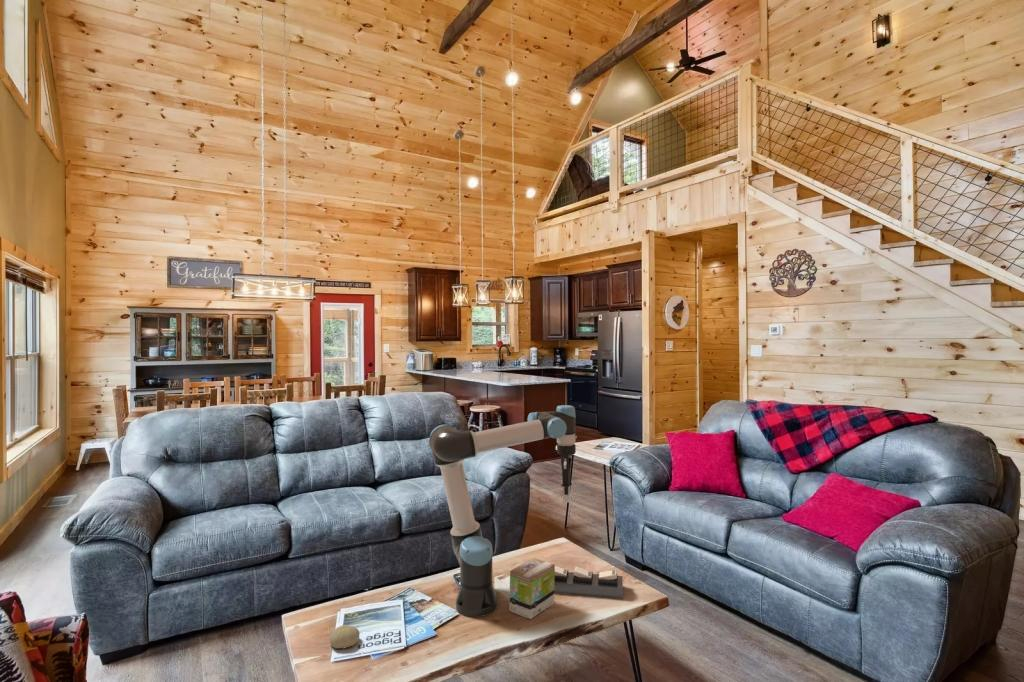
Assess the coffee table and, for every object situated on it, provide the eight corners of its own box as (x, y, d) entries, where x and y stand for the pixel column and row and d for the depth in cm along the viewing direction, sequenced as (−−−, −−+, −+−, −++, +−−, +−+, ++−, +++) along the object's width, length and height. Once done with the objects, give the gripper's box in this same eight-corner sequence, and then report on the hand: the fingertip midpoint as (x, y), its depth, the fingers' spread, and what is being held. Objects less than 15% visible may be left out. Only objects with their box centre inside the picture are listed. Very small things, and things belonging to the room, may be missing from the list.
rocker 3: (599, 581, 206) (598, 577, 206) (600, 576, 210) (599, 572, 210) (616, 578, 205) (615, 574, 205) (616, 573, 209) (615, 569, 209)
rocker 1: (549, 573, 210) (550, 569, 209) (550, 568, 214) (551, 564, 214) (565, 579, 208) (566, 574, 208) (566, 573, 213) (567, 569, 213)
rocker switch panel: (542, 592, 207) (542, 577, 207) (546, 580, 217) (546, 566, 217) (622, 598, 202) (622, 583, 201) (622, 586, 211) (622, 572, 211)
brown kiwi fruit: (346, 625, 182) (356, 613, 178) (356, 647, 178) (367, 636, 174) (322, 637, 174) (331, 625, 171) (332, 661, 171) (342, 649, 167)
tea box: (531, 620, 187) (531, 577, 187) (508, 611, 193) (508, 570, 193) (555, 603, 199) (555, 563, 199) (533, 595, 205) (532, 556, 205)
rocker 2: (573, 575, 208) (575, 570, 208) (574, 570, 212) (575, 565, 212) (590, 581, 207) (591, 577, 206) (590, 576, 211) (592, 572, 211)
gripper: (574, 447, 213) (574, 507, 213) (576, 441, 225) (577, 497, 226) (555, 446, 214) (555, 506, 214) (558, 440, 227) (559, 496, 227)
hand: (566, 501), depth 220 cm, fingers closed
